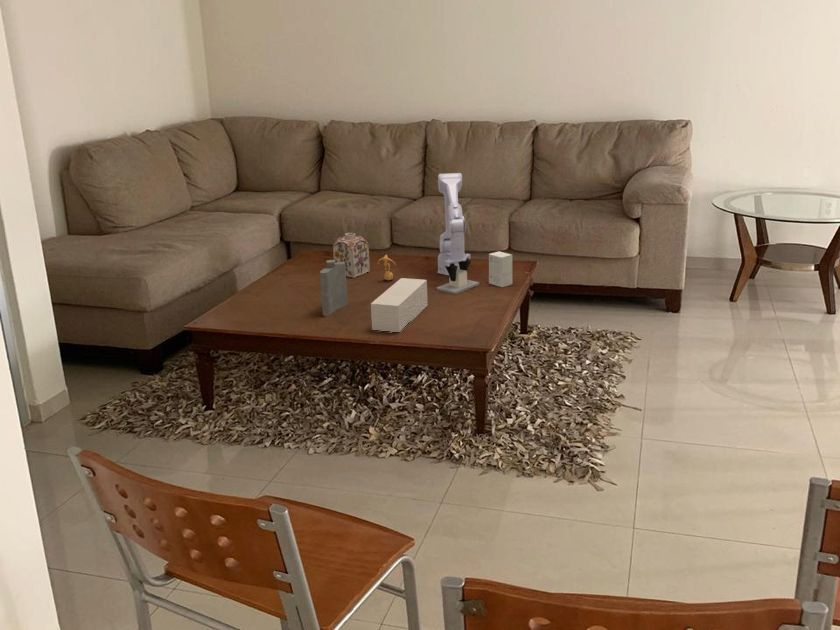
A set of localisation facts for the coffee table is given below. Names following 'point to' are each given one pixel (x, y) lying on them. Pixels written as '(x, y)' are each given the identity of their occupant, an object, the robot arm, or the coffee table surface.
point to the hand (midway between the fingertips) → (458, 278)
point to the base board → (456, 289)
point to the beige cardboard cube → (459, 278)
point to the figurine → (388, 274)
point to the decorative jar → (352, 254)
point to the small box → (500, 269)
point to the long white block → (399, 305)
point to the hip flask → (333, 287)
